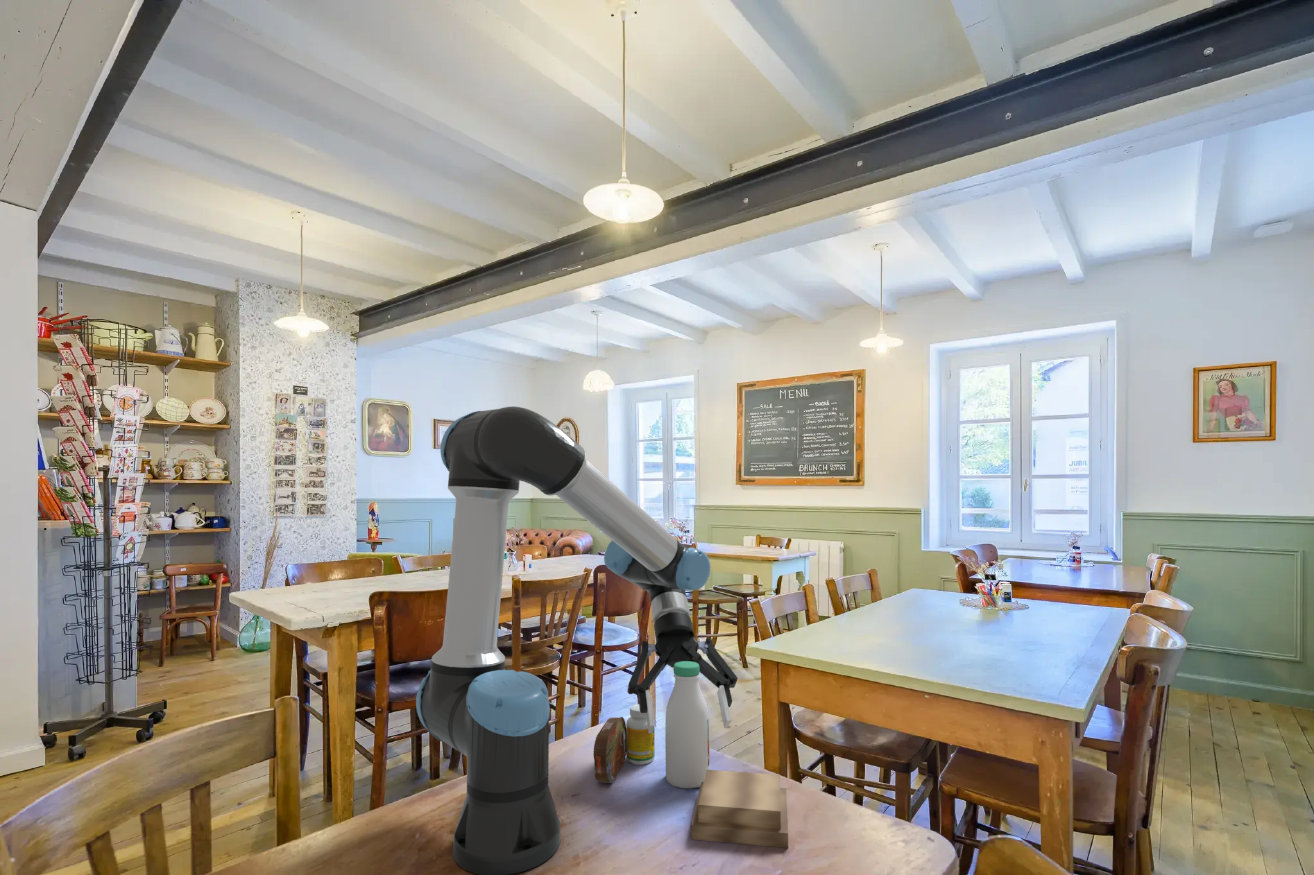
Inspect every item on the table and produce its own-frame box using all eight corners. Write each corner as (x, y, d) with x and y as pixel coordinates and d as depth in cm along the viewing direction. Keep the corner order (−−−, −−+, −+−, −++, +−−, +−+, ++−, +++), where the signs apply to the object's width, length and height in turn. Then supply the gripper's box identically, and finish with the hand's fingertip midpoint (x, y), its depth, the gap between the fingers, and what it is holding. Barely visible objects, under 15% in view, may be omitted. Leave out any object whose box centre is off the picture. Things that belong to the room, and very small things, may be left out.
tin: (608, 792, 111) (608, 741, 112) (590, 791, 112) (590, 740, 112) (628, 755, 126) (628, 710, 127) (612, 754, 127) (612, 709, 127)
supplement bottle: (624, 755, 126) (623, 703, 127) (651, 752, 127) (651, 701, 128) (629, 766, 121) (629, 713, 122) (657, 763, 122) (657, 710, 123)
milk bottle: (706, 792, 111) (705, 671, 112) (661, 788, 113) (661, 669, 114) (712, 772, 119) (710, 659, 120) (670, 768, 120) (669, 657, 121)
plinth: (691, 839, 96) (690, 807, 97) (701, 794, 110) (701, 766, 110) (788, 848, 94) (787, 815, 94) (786, 800, 108) (786, 772, 108)
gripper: (729, 628, 134) (754, 731, 119) (608, 634, 130) (616, 742, 114) (736, 607, 130) (763, 711, 114) (610, 612, 125) (620, 721, 110)
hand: (690, 727), depth 114 cm, fingers open, 13 cm apart
